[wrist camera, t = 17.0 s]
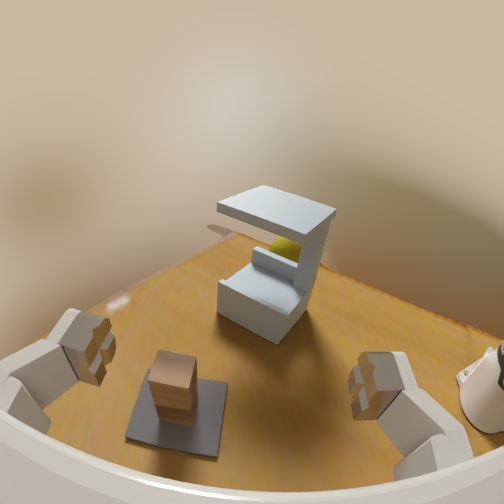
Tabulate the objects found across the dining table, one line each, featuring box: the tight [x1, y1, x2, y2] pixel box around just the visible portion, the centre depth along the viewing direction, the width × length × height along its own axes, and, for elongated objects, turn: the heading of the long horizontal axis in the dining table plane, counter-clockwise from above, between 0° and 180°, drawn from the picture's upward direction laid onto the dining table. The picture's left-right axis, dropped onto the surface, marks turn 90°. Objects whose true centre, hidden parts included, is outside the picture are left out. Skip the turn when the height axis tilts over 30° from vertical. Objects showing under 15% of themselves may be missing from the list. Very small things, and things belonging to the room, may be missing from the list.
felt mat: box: [125, 369, 227, 458], centre depth 34 cm, size 12×12×1 cm
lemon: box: [269, 236, 302, 263], centre depth 68 cm, size 11×8×8 cm
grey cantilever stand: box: [217, 185, 336, 345], centre depth 50 cm, size 13×14×22 cm
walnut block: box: [148, 350, 198, 427], centre depth 32 cm, size 4×4×10 cm
